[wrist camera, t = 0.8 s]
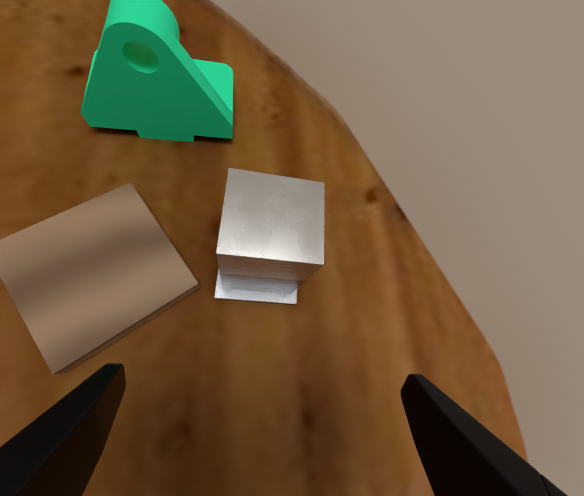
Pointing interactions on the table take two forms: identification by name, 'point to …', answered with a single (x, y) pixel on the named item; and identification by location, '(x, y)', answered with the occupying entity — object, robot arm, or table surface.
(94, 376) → the robot arm
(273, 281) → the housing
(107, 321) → the stand
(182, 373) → the table surface
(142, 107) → the camera mount
